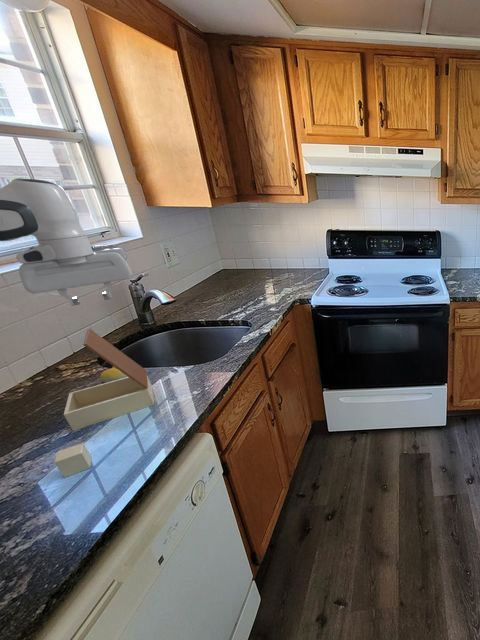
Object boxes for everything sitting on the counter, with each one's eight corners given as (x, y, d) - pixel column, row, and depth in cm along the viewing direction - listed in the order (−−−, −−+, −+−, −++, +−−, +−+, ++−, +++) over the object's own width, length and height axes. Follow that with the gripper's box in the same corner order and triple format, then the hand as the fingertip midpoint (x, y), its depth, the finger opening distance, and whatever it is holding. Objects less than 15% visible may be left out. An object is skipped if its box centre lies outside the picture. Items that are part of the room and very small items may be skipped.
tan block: (63, 477, 81) (54, 462, 79) (66, 466, 85) (56, 451, 83) (90, 467, 84) (81, 452, 82) (92, 457, 87) (83, 442, 85)
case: (72, 430, 97) (63, 414, 94) (77, 408, 106) (69, 392, 104) (154, 404, 107) (147, 389, 104) (152, 386, 116) (145, 371, 114)
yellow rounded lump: (96, 383, 119) (90, 372, 117) (124, 369, 127) (119, 359, 125) (115, 385, 117) (110, 374, 116) (142, 371, 125) (137, 361, 123)
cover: (83, 345, 93) (85, 343, 93) (87, 329, 102) (89, 328, 102) (146, 389, 104) (148, 387, 104) (144, 371, 114) (146, 370, 114)
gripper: (121, 241, 99) (141, 290, 104) (12, 253, 87) (41, 307, 93) (121, 244, 94) (142, 295, 100) (5, 257, 83) (36, 314, 88)
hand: (92, 301), depth 96 cm, fingers open, 5 cm apart
